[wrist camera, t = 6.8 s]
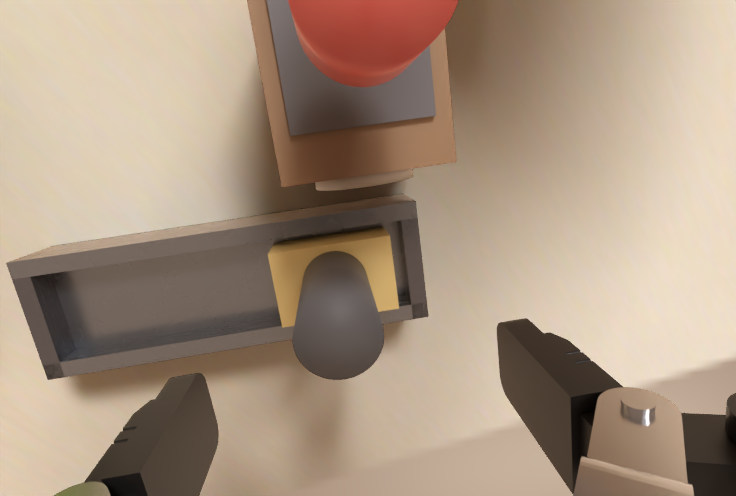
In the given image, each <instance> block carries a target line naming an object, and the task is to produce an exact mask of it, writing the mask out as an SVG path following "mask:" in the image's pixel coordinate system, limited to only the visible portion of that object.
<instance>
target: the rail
mask: <svg viewBox="0 0 736 496" xmlns="http://www.w3.org/2000/svg"><path fill="white" fill-rule="evenodd" d="M381 226H384V228H385V229H386V231H387V232H388V234H389V235H390V240H391V248H392V256H393V264H394V271H395V279H396V287H397V295H398V303H399V309H393V310H387V311H381V312H379V315H380V319H381V322H382V324H387V323H393V322H399V321H405V320H411V319H417V318H423V317H428V310H427V300H426V291H425V282H424V273H423V264H422V255H421V246H420V237H419V228H418V219H417V210H416V201H414V200H413V199H411V198H409V197H408V196H406V195H404V194H399V195H392V196H385V197H379V198H372V199H365V200H359V201H352V202H345V203H339V204H332V205H325V206H318V207H312V208H305V209H298V210H292V211H285V212H278V213H271V214H265V215H258V216H251V217H245V218H238V219H231V220H224V221H218V222H211V223H204V224H198V225H191V226H184V227H177V228H171V229H164V230H157V231H151V232H144V233H137V234H131V235H124V236H117V237H110V238H104V239H97V240H90V241H84V242H77V243H70V244H63V245H57V246H52V247H49V248H46V249H43V250H41V251H38V252H35V253H32V254H30V255H27V256H24V257H21V258H19V259H16V260H13V261H10V262H7V263H6V264H7V266H8V269H9V272H10V275H11V278H12V280H13V283H14V286H15V289H16V292H17V294H18V297H19V300H20V303H21V306H22V309H23V311H24V314H25V317H26V320H27V323H28V325H29V328H30V331H31V334H32V337H33V339H34V342H35V345H36V348H37V351H38V353H39V356H40V359H41V362H42V365H43V367H44V370H45V373H46V376H47V379H48V380H50V379H56V378H62V377H68V376H74V375H80V374H86V373H92V372H98V371H104V370H110V369H116V368H122V367H128V366H134V365H140V364H146V363H152V362H158V361H164V360H170V359H176V358H182V357H188V356H194V355H200V354H206V353H212V352H218V351H224V350H230V349H236V348H242V347H248V346H254V345H260V344H266V343H272V342H278V341H284V340H290V339H293V330H294V326H290V327H284V328H282V323H281V318H280V313H279V308H278V303H277V299H276V294H275V289H274V284H273V279H272V274H271V269H270V264H269V259H268V253H269V251H270V249H271V248H272V246H273V244H274V243H276V242H283V241H290V240H296V239H303V238H309V237H316V236H322V235H329V234H335V233H342V232H348V231H355V230H361V229H368V228H374V227H381Z"/></svg>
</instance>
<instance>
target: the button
mask: <svg viewBox="0 0 736 496" xmlns="http://www.w3.org/2000/svg"><path fill="white" fill-rule="evenodd" d="M288 2H289V6H290V10H291V13H292V17H293V21H294V25H295V28H296V32H297V36H298V38H299V41H300V44H301V46H302V48H303V50H304V52H305V54H306V55H307V57H308V58H309V60H310V61H311V62H312V63H313V64H314V66H315V67H316V68H317V69H318V70H320V71H321V72H322V73H323V74H324V75H326V76H327V77H329V78H330V79H332V80H334V81H336V82H339V83H341V84H344V85H348V86H352V87H371V86H376V85H380V84H383V83H386V82H388V81H390V80H391V79H393V78H395V77H396V76H398V75H399V74H400V73H402V72H403V71H404V70H405V69H406V68H407V67H408V66H409V65H410V64H411V63H412V62H413V61H414V60H415V59H416V58H417V57H418V56H419V55H420V54H421V53H422V52H423V51H424V50H425V49H426V48H427V47H428V46H429V45H430V44H431V43H432V42H433V41H434V40H435V39H436V38H437V37H438V36H439V34H440V33H441V32H442V31H443V30H444V28H445V27H446V25H447V24H448V22H449V20H450V19H451V17H452V15H453V13H454V11H455V9H456V6H457V3H458V0H288Z"/></svg>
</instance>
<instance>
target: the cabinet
mask: <svg viewBox="0 0 736 496" xmlns="http://www.w3.org/2000/svg"><path fill="white" fill-rule="evenodd" d="M247 3H248V8H249V14H250V19H251V24H252V30H253V35H254V41H255V46H256V51H257V57H258V62H259V68H260V73H261V78H262V84H263V89H264V95H265V100H266V105H267V111H268V116H269V122H270V127H271V132H272V138H273V143H274V149H275V154H276V159H277V165H278V170H279V176H280V181H281V186H282V187H288V186H295V185H302V184H308V183H315V186H316V190H319V191H332V190H345V189H354V188H362V187H369V186H376V185H382V184H387V183H393V182H397V181H401V180H405V179H409V178H411V177H413V169H412V168H418V167H425V166H432V165H439V164H446V163H453V162H456V152H455V141H454V129H453V117H452V105H451V94H450V82H449V70H448V58H447V46H446V35H445V28H444V30H443V31H442V32H441V33H440V34H439V36H438V37H437V38H436V39H435V40H434V41H433V42H432V43H431V44H430V45H429V46H428V47H427V48H426V49H425V50H424V51H423V52H422V53H421V54H420V55H419V56H418V57H417V58H416V59H415V60H414V61H413V62H412V63H411V64H410V65H409V66H408V67H407V68H406V69H405V70H404V71H403V72H402V73H400V74H399V75H398V76H396V77H395V78H393V79H391V80H390V81H388V82H386V83H383V84H380V85H376V86H371V87H352V86H348V85H344V84H341V83H339V82H336V81H334V80H332V79H330V78H329V77H327V76H326V75H324V74H323V73H322V72H321V71H320V70H318V69H317V68H316V67H315V66H314V64H313V63H312V62H311V61H310V60H309V58H308V57H307V55H306V54H305V52H304V50H303V48H302V46H301V44H300V41H299V38H298V36H297V32H296V28H295V25H294V21H293V17H292V13H291V10H290V6H289V2H288V0H247Z"/></svg>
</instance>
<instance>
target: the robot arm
mask: <svg viewBox="0 0 736 496" xmlns="http://www.w3.org/2000/svg"><path fill="white" fill-rule="evenodd" d="M497 340H498V355H499V369H500V378H501V383H502V386H503V389H504V392H505V394H506V396H507V398H508V400H509V401H510V403H511V404H512V405H513V407H514V408H515V410H516V411H517V413H518V414H519V416H520V417H521V419H522V420H523V422H524V423H525V425H526V426H527V428H528V429H529V430H530V432H531V433H532V435H533V436H534V438H535V439H536V441H537V442H538V444H539V445H540V447H541V448H542V450H543V451H544V452H545V454H546V455H547V457H548V458H549V460H550V461H551V463H552V464H553V466H554V467H555V469H556V470H557V472H558V473H559V474H560V476H561V477H562V479H563V480H564V482H565V483H566V485H567V486H568V488H569V489H570V491H571V492H572V494H573V496H736V393H735V394H733V395H731V396H730V397H729V398H728V400H727V407H726V415H712V414H688V413H681V412H680V411H679V409H678V408H677V407H676V405H675V404H674V403H672V402H671V401H670V400H668V399H666V398H665V397H663V396H661V395H659V394H656V393H654V392H651V391H648V390H644V389H639V388H631V387H623V386H621V385H620V384H619V383H618V382H617V381H616V380H614V379H613V378H612V377H611V376H610V375H609V374H607V373H606V372H605V371H604V370H603V369H601V368H600V367H599V366H598V365H597V364H596V363H594V362H593V361H591V360H590V358H588V357H587V356H586V355H585V354H584V353H583V352H582V353H581V352H580V350H579V349H578V348H577V347H575V346H574V345H573V344H572V343H571V342H570V341H568V340H566V339H564V338H562V337H559V336H557V335H555V334H552V333H545V334H544V333H542V332H541V331H540V330H539V329H538V328H537V327H536V326H535V325H534V324H533V323H532V322H530V321H529V320H528V319H526V318H525V319H519V320H513V321H507V322H501V323H499V324H498V326H497ZM217 445H218V424H217V420H216V416H215V413H214V409H213V405H212V402H211V398H210V394H209V391H208V387H207V383H206V380H205V377H204V376H203V374H201V373H195V374H189V375H183V376H178V377H172V378H170V379H169V380H168V382H167V383H166V384H165V386H164V387H163V389H162V390H161V392H160V393H159V395H158V396H157V398H156V399H155V400H150V401H149V402H148V403H147V404H145V405H144V406H143V407H142V408H140V409H139V410H138V411H137V412H135V413H134V414H133V415H132V417H131V418H130V420H129V421H128V422H127V424H126V425H125V426H124V428H123V431H122V432H120V433H119V435H118V436H117V438H116V439H115V440H114V444H111V446H110V447H109V449H108V450H107V451H106V453H105V454H104V456H103V457H102V458H101V460H100V461H99V462H98V464H97V465H96V467H95V468H94V469H93V471H92V472H91V473H90V475H89V476H88V478H87V479H86V480H85V482H84V483H81V484H78V485H75V486H72V487H69V488H67V489H65V490H63V491H61V492H59V493H57V494H56V495H54V496H199V495H200V492H201V489H202V486H203V484H204V481H205V478H206V476H207V473H208V470H209V468H210V465H211V462H212V460H213V457H214V454H215V452H216V449H217Z"/></svg>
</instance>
